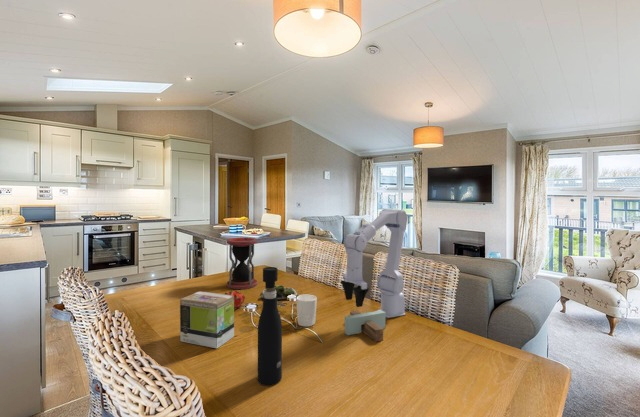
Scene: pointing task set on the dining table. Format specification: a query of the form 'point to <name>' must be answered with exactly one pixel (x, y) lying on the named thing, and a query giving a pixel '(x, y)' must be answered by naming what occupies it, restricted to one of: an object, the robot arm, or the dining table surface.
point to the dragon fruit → (237, 298)
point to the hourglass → (241, 263)
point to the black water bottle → (269, 333)
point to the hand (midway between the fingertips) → (353, 302)
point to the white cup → (306, 309)
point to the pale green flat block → (363, 321)
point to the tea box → (207, 319)
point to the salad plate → (282, 292)
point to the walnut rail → (371, 329)
